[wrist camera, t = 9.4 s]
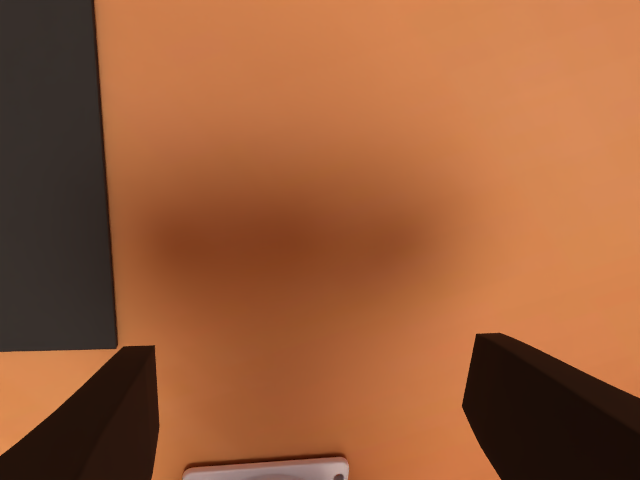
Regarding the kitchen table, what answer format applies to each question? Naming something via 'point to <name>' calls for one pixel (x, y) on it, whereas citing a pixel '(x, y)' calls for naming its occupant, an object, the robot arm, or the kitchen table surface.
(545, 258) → the kitchen table surface
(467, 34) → the kitchen table surface
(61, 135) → the placemat
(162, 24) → the kitchen table surface
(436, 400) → the kitchen table surface
